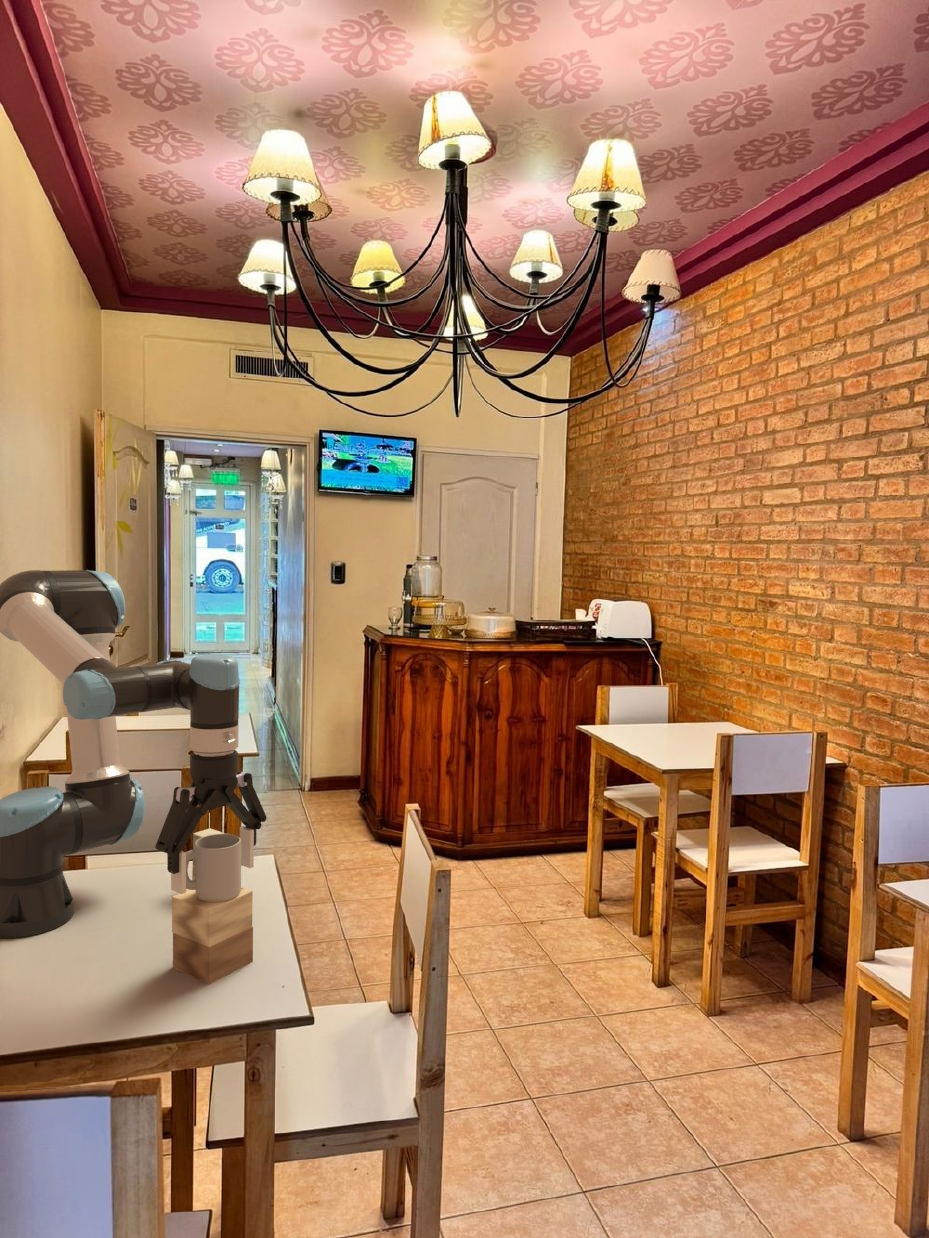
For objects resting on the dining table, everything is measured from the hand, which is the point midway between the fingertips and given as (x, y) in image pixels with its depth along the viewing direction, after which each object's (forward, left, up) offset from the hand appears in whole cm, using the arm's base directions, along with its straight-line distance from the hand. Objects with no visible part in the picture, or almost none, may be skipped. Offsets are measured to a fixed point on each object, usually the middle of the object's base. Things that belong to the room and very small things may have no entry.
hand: (213, 878), depth 133 cm
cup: (0, 0, -3) cm, 3 cm away
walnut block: (0, 0, -15) cm, 15 cm away
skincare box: (-24, +18, -15) cm, 33 cm away
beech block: (0, 0, -9) cm, 9 cm away
